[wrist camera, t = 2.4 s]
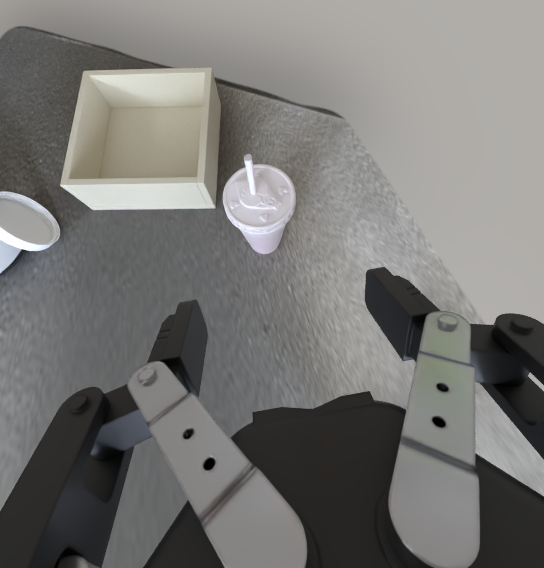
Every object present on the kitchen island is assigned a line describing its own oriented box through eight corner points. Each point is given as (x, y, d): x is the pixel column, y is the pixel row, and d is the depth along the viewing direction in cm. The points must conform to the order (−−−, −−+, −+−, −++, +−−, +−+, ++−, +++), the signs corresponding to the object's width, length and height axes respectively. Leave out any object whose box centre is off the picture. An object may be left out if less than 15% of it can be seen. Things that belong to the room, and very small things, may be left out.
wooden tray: (92, 210, 34) (59, 185, 29) (110, 108, 38) (83, 70, 32) (215, 208, 34) (203, 183, 28) (221, 106, 37) (211, 67, 32)
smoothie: (256, 206, 33) (241, 109, 20) (301, 230, 33) (317, 146, 19) (228, 248, 32) (191, 175, 19) (273, 274, 31) (270, 218, 18)
